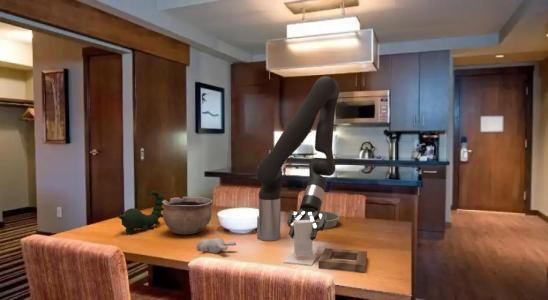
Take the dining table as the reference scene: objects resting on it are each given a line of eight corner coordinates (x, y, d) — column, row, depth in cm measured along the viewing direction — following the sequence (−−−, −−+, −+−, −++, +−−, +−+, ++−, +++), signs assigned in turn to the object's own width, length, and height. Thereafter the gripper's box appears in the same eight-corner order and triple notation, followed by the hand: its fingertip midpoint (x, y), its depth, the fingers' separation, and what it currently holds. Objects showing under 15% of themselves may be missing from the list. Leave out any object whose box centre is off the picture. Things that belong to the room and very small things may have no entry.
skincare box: (310, 252, 138) (310, 219, 137) (312, 256, 133) (312, 221, 133) (293, 252, 137) (293, 219, 136) (295, 256, 132) (295, 222, 132)
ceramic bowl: (187, 224, 187) (187, 194, 186) (222, 230, 176) (222, 198, 175) (152, 235, 168) (151, 201, 167) (188, 242, 157) (188, 206, 156)
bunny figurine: (206, 235, 152) (237, 236, 145) (207, 248, 152) (239, 249, 145) (190, 241, 144) (223, 242, 137) (192, 255, 144) (224, 256, 137)
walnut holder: (318, 268, 126) (318, 260, 126) (325, 254, 141) (325, 247, 141) (364, 272, 122) (364, 265, 122) (366, 258, 137) (366, 251, 136)
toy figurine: (153, 227, 189) (109, 234, 167) (155, 189, 189) (112, 191, 168) (167, 229, 184) (124, 237, 162) (169, 190, 185) (126, 192, 163)
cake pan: (287, 229, 180) (287, 219, 180) (293, 217, 204) (293, 209, 204) (339, 231, 176) (339, 221, 175) (339, 219, 200) (340, 211, 200)
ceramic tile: (283, 263, 131) (283, 261, 131) (290, 254, 141) (290, 253, 141) (312, 265, 129) (312, 264, 128) (317, 256, 138) (317, 255, 138)
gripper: (292, 192, 144) (279, 230, 134) (328, 195, 138) (318, 234, 128) (297, 204, 149) (285, 241, 139) (332, 207, 143) (323, 246, 133)
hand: (301, 238), depth 133 cm, fingers closed on skincare box, 7 cm apart
